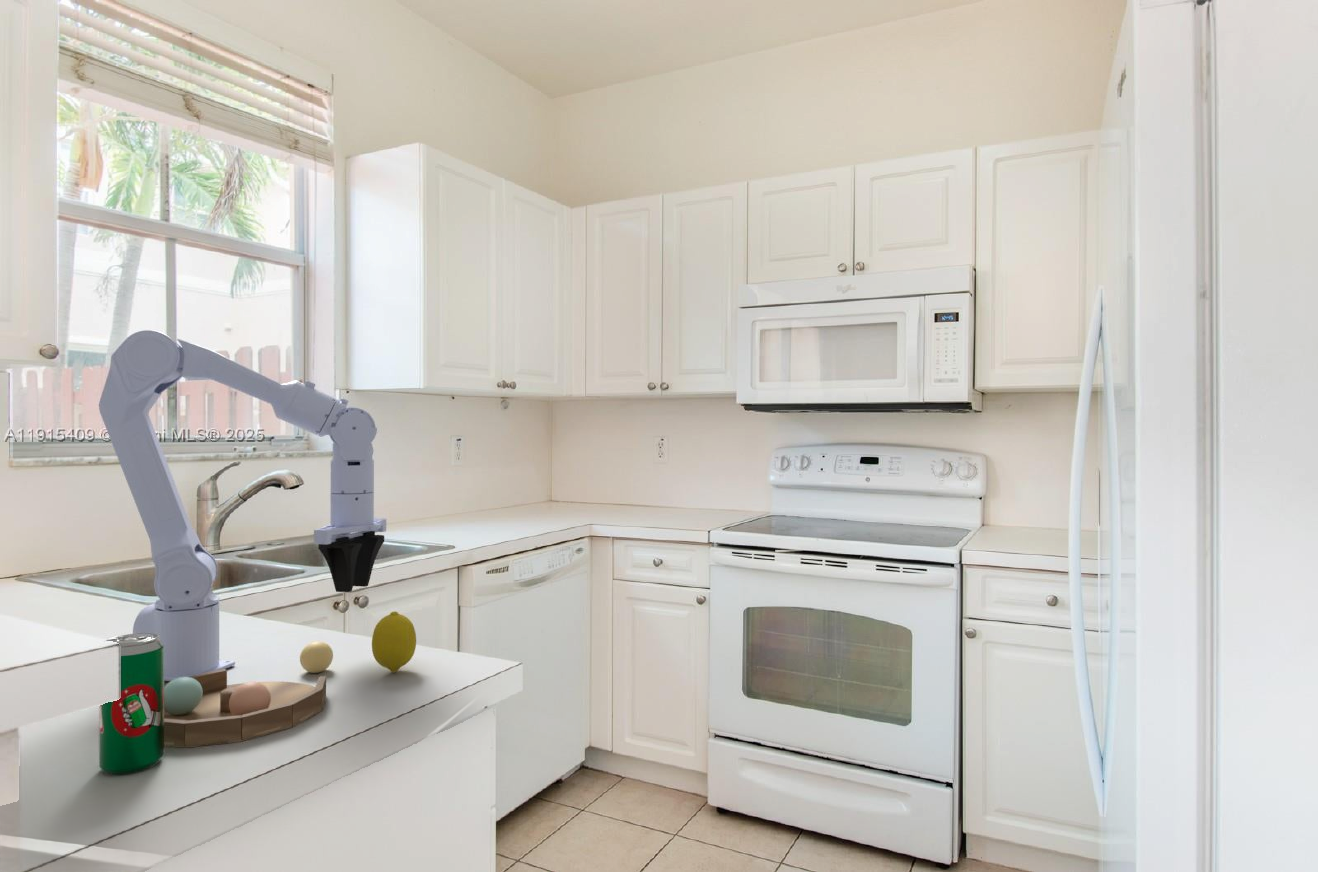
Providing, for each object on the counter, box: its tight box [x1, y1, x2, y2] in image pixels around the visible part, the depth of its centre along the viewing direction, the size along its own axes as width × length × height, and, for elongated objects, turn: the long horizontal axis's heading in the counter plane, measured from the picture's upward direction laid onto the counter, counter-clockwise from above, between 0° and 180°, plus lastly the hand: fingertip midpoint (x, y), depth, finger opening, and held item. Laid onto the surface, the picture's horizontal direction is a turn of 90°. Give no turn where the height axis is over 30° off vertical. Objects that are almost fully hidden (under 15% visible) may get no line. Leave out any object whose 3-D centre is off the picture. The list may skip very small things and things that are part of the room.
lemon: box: [371, 611, 417, 673], centre depth 102 cm, size 6×6×8 cm
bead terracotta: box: [229, 681, 271, 716], centre depth 84 cm, size 4×4×4 cm
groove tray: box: [164, 668, 327, 749], centre depth 87 cm, size 19×19×2 cm
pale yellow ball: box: [299, 640, 334, 674], centre depth 102 cm, size 4×4×4 cm
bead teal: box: [164, 677, 203, 715], centre depth 85 cm, size 4×4×4 cm
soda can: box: [98, 633, 165, 776], centre depth 73 cm, size 5×5×12 cm
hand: (352, 588), depth 109 cm, fingers open, 3 cm apart
